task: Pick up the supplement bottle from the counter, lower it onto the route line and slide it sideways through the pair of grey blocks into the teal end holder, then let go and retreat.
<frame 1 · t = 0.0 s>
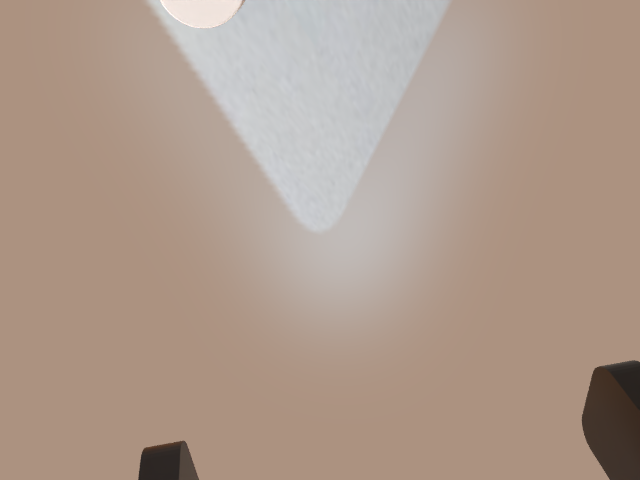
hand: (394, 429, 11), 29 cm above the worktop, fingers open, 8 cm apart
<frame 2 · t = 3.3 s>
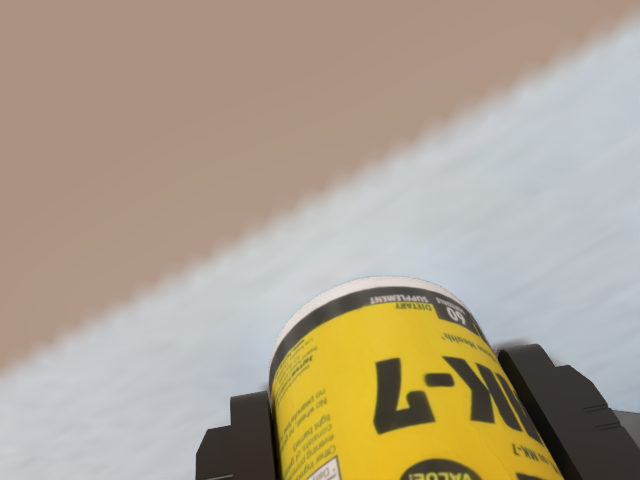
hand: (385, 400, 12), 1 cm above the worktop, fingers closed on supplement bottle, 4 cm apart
supplement bottle: (369, 346, 13), on the worktop, touching gripper
when the fingers open (2 cm above the worktop, at t = 11.3 s): supplement bottle stays where it is, on the worktop.
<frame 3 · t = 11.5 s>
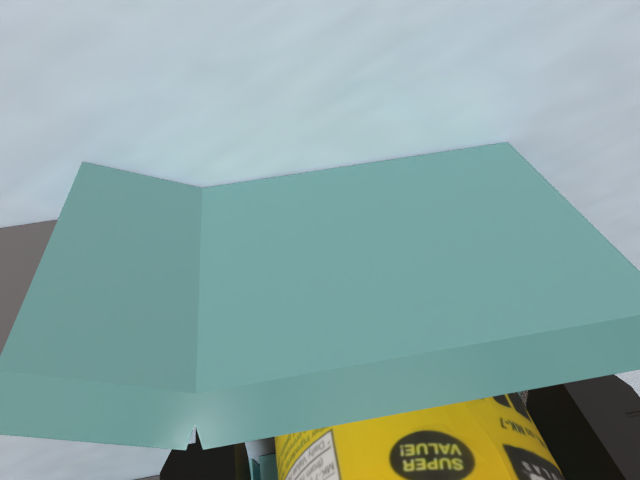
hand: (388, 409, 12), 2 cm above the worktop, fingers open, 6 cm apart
pair of grey blocks: (80, 388, 13), on the worktop
end holder: (365, 339, 14), on the worktop
supplement bottle: (365, 331, 14), on the worktop
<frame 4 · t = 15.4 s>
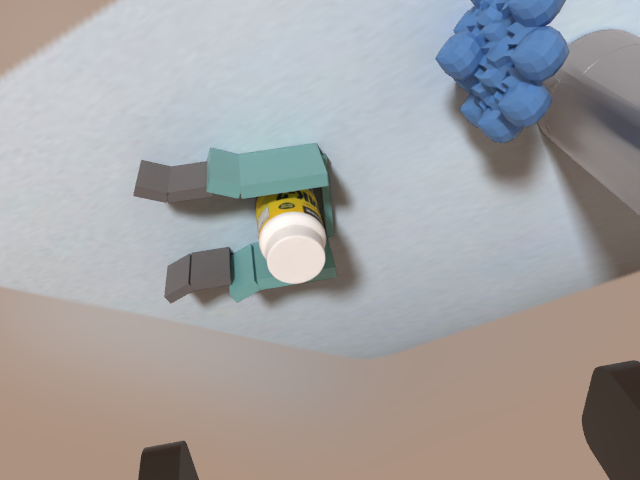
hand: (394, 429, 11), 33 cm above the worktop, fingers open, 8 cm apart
pair of grey blocks: (201, 213, 46), on the worktop
grapes: (454, 28, 41), on the worktop
end holder: (284, 200, 46), on the worktop
supplement bottle: (284, 198, 46), on the worktop
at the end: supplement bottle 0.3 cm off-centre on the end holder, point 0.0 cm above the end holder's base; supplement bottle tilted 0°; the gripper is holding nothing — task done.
